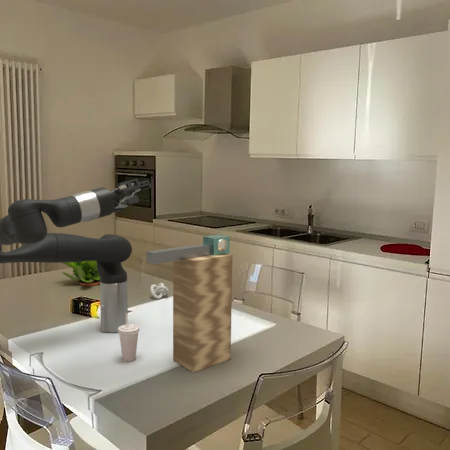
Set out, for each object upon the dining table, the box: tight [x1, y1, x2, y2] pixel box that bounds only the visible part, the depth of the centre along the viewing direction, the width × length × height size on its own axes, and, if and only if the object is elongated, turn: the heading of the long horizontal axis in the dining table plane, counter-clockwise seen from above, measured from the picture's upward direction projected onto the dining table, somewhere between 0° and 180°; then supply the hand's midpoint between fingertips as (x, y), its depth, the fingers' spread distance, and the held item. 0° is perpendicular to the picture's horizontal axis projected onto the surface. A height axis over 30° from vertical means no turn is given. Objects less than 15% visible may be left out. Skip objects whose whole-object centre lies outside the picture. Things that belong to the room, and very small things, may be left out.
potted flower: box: [61, 261, 100, 287], centre depth 224 cm, size 25×24×18 cm
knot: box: [149, 282, 170, 300], centre depth 205 cm, size 8×8×6 cm
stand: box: [172, 253, 233, 373], centre depth 140 cm, size 14×10×32 cm
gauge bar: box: [146, 234, 231, 265], centre depth 134 cm, size 26×6×5 cm, turn 131°
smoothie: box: [117, 313, 141, 362], centre depth 141 cm, size 6×6×14 cm
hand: (143, 191), depth 132 cm, fingers open, 8 cm apart
